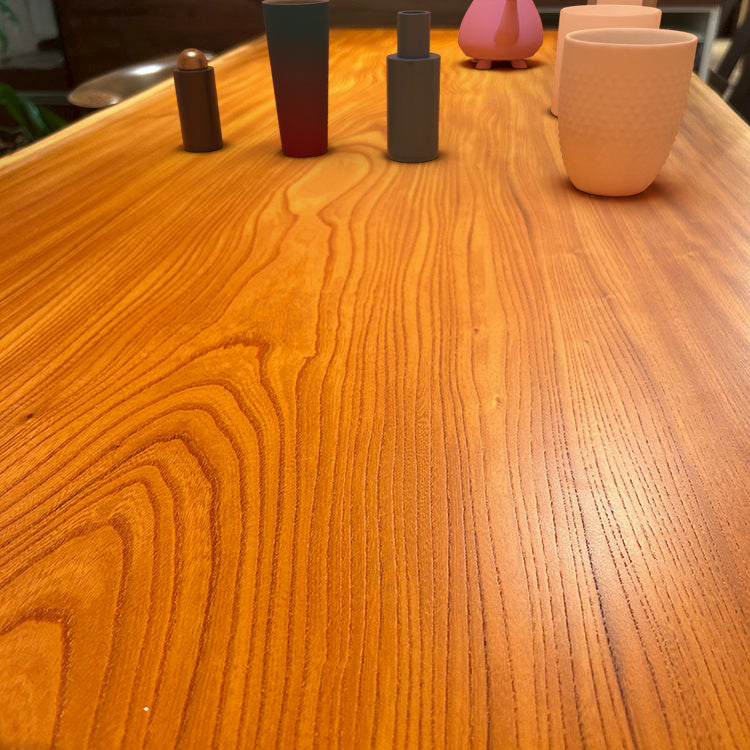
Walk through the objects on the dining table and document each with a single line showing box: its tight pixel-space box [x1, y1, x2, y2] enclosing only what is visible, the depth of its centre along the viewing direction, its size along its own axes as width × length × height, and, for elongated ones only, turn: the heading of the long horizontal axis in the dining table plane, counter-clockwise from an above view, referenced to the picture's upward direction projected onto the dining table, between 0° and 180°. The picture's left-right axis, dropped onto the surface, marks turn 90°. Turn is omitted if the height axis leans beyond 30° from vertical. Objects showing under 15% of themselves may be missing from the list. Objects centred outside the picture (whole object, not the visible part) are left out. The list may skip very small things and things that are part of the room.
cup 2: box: [550, 4, 663, 118], centre depth 96 cm, size 12×12×12 cm
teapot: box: [457, 0, 544, 70], centre depth 128 cm, size 20×14×12 cm
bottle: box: [385, 10, 442, 163], centre depth 79 cm, size 5×5×14 cm
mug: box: [557, 28, 699, 197], centre depth 71 cm, size 15×11×13 cm
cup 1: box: [261, 0, 330, 158], centre depth 82 cm, size 7×7×15 cm
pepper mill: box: [172, 47, 224, 153], centre depth 85 cm, size 4×4×10 cm
